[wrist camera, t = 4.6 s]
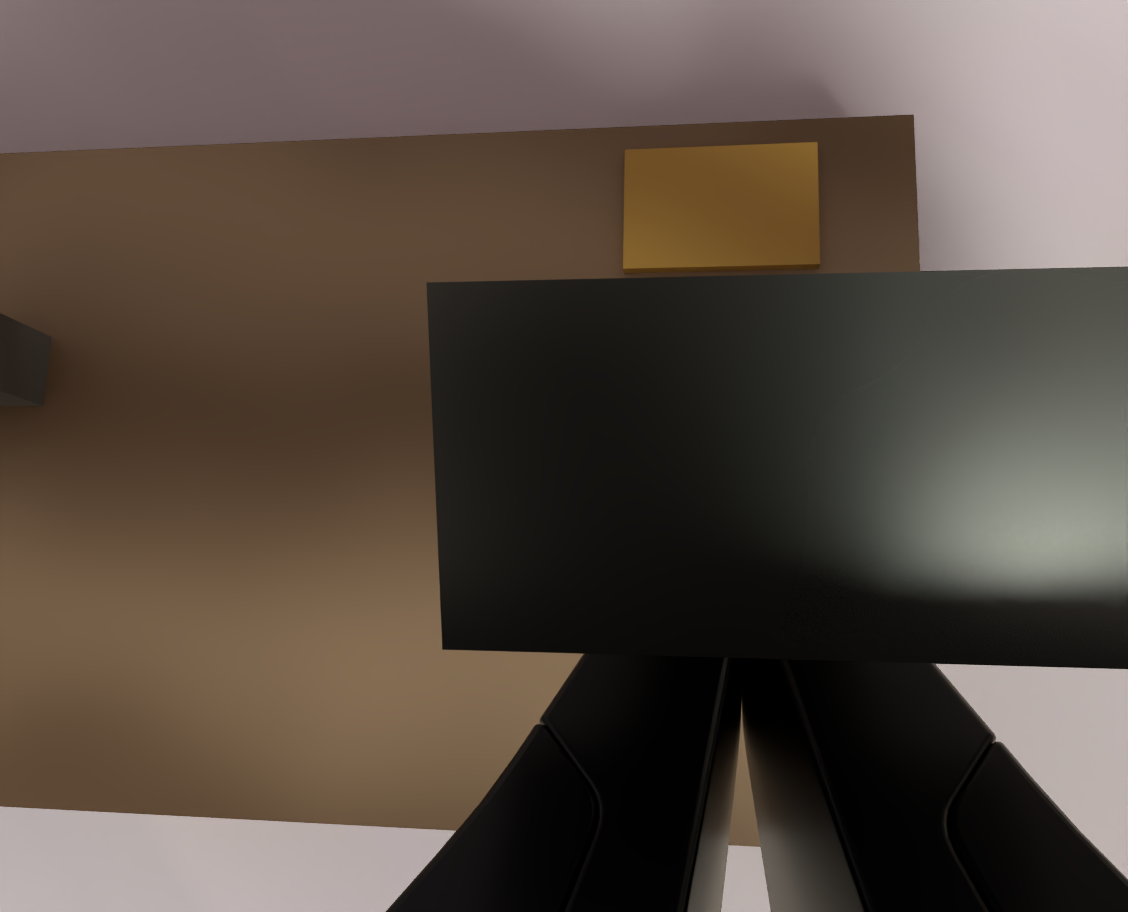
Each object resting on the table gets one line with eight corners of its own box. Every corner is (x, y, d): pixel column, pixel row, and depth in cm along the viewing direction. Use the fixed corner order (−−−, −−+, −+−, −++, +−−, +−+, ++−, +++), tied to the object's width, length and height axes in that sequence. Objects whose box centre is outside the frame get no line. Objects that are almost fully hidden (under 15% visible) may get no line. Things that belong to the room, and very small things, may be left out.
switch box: (912, 828, 16) (980, 888, 12) (-220, 772, 18) (-454, 807, 14) (889, 172, 17) (940, 47, 14) (-130, 209, 20) (-317, 112, 16)
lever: (840, 411, 14) (1129, 669, 5) (608, 412, 14) (441, 648, 5) (843, 278, 13) (1160, 267, 4) (606, 283, 14) (427, 282, 5)
